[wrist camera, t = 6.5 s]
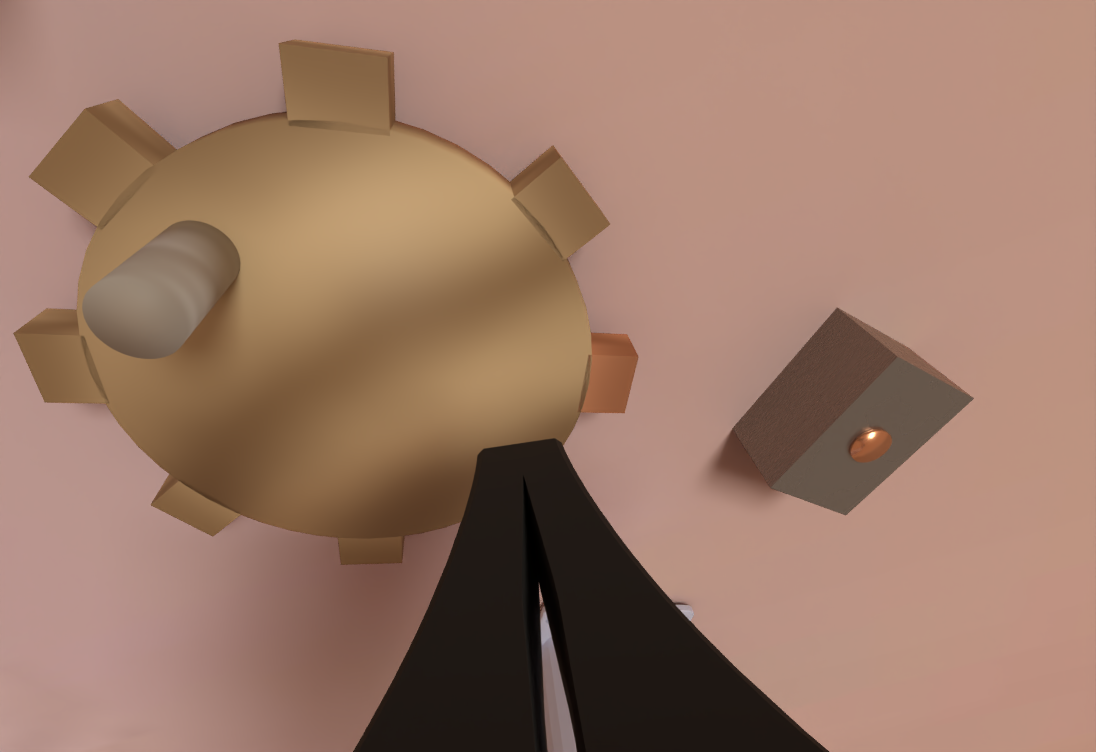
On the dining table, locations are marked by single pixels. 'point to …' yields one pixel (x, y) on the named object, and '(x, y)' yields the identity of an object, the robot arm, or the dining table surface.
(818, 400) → the link block
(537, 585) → the robot arm
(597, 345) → the sprocket wheel
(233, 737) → the dining table surface
